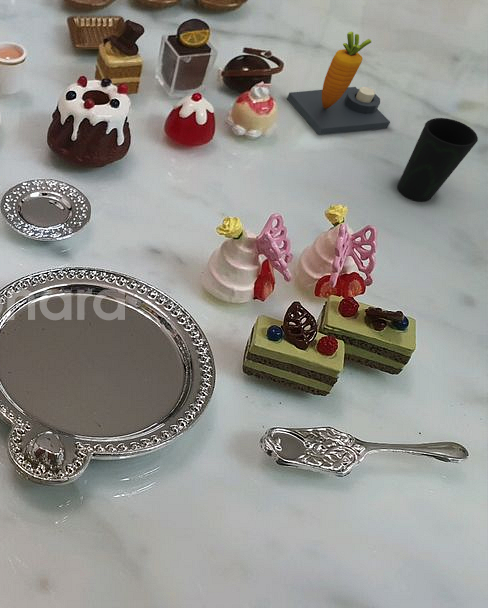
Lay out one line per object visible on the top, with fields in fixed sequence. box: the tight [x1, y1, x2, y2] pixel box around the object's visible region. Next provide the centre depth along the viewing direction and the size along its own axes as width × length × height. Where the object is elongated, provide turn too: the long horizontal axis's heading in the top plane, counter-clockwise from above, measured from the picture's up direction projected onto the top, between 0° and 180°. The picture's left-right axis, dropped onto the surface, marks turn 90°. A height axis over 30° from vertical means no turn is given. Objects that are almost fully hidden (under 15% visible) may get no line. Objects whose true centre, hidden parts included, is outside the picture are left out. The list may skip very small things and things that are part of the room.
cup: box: [396, 117, 479, 203], centre depth 123 cm, size 8×8×12 cm
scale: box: [286, 86, 391, 136], centre depth 141 cm, size 14×12×3 cm
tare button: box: [356, 86, 376, 103], centre depth 140 cm, size 3×3×2 cm
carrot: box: [321, 31, 372, 109], centre depth 135 cm, size 5×5×15 cm
